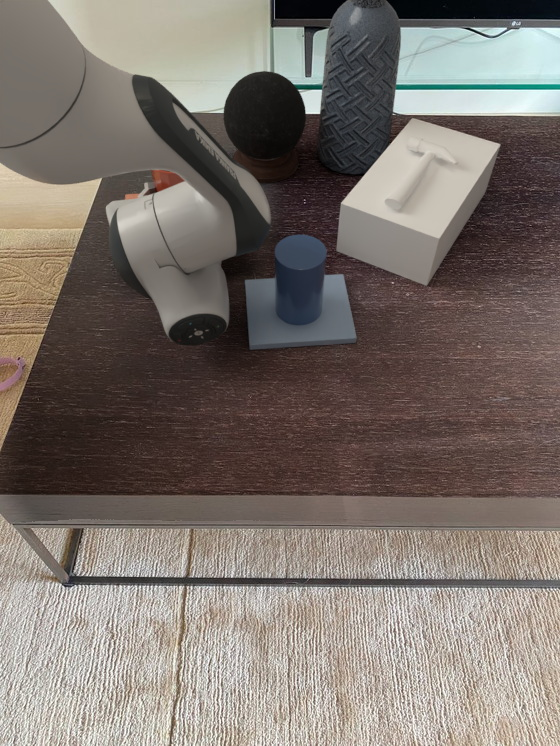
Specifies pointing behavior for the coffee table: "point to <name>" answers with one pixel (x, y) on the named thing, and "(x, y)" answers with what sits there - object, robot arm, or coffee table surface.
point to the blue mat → (279, 334)
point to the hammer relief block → (416, 200)
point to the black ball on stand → (265, 124)
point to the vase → (358, 85)
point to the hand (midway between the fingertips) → (176, 183)
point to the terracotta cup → (165, 179)
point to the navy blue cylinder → (299, 279)
